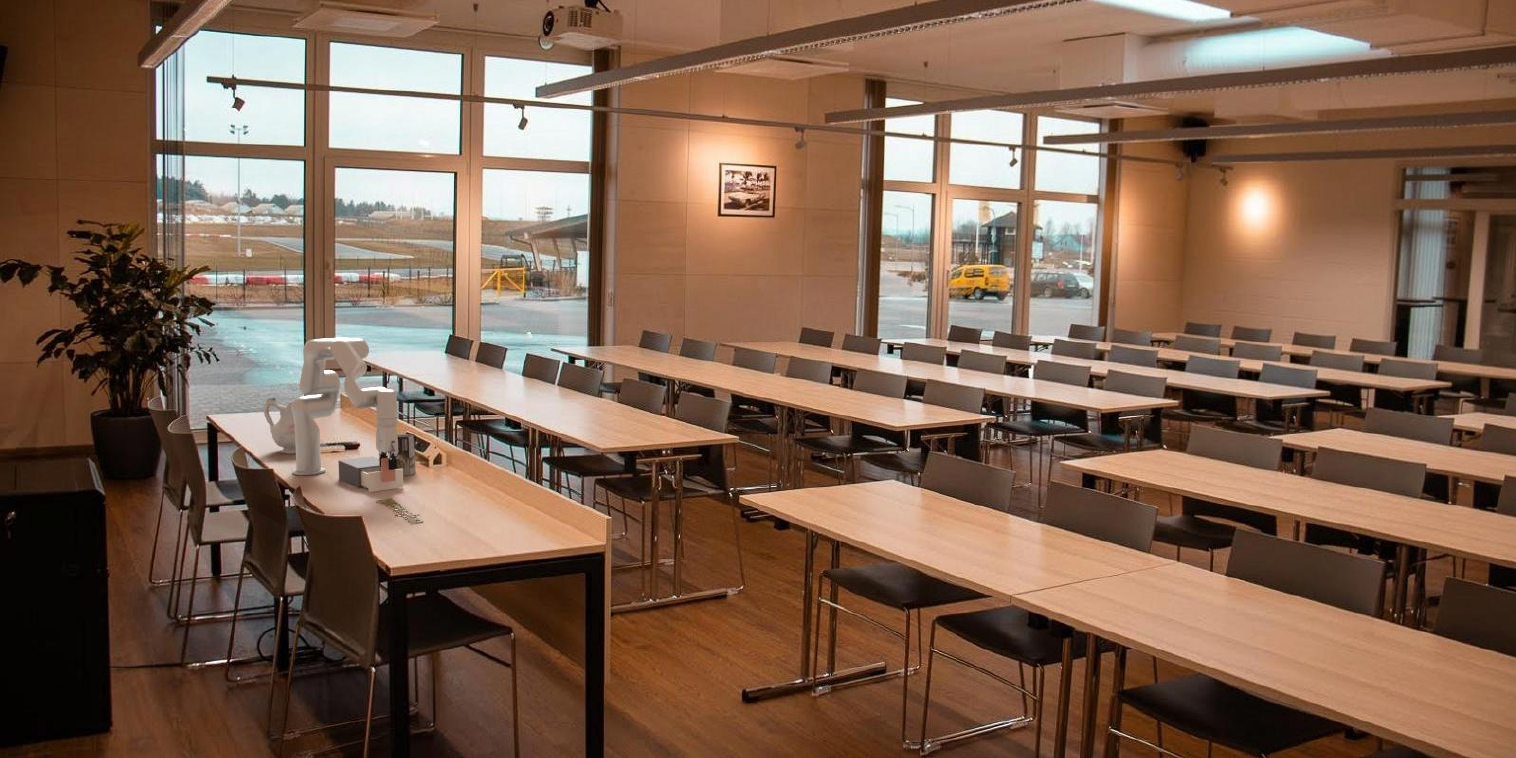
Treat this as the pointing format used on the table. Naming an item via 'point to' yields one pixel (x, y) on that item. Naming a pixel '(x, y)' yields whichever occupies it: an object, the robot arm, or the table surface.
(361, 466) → the low grey box
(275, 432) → the ceramic pitcher
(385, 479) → the box with pink tab
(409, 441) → the coffee box
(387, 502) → the text sign
